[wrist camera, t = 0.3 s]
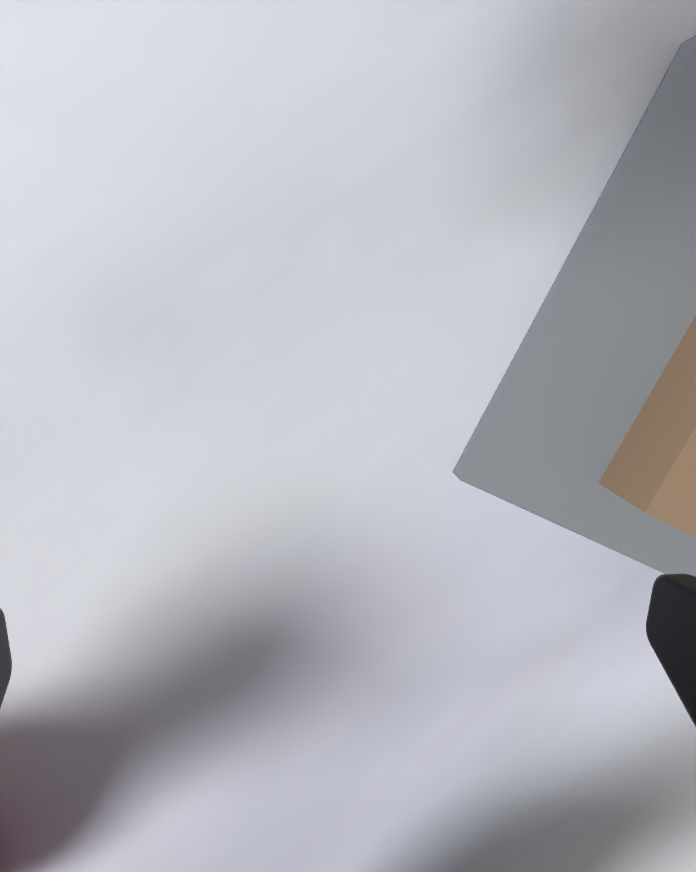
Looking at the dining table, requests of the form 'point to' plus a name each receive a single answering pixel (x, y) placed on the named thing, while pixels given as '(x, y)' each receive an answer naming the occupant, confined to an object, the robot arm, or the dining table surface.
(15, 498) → the dining table surface
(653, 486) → the ridge stand
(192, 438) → the dining table surface
